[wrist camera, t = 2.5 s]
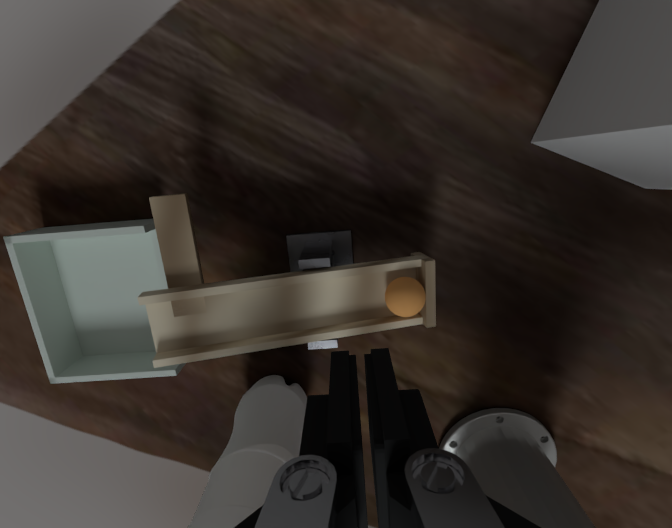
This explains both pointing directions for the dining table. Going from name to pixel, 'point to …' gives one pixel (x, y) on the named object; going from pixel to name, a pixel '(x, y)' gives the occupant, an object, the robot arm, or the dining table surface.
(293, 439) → the water bottle
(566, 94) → the milk
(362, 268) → the lever
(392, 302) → the ball
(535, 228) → the dining table surface
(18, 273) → the tray
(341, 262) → the fulcrum
